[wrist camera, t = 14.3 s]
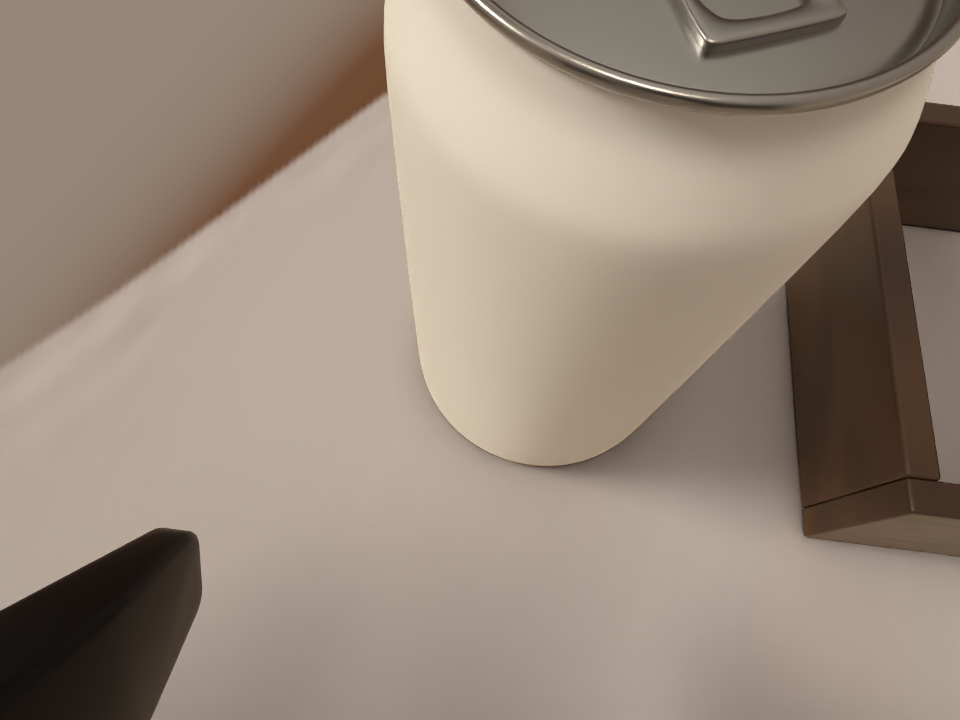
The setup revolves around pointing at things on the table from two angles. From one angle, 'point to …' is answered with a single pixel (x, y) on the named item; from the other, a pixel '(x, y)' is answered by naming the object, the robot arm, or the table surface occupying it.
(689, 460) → the table surface
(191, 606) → the robot arm
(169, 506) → the table surface
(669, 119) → the can
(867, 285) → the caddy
